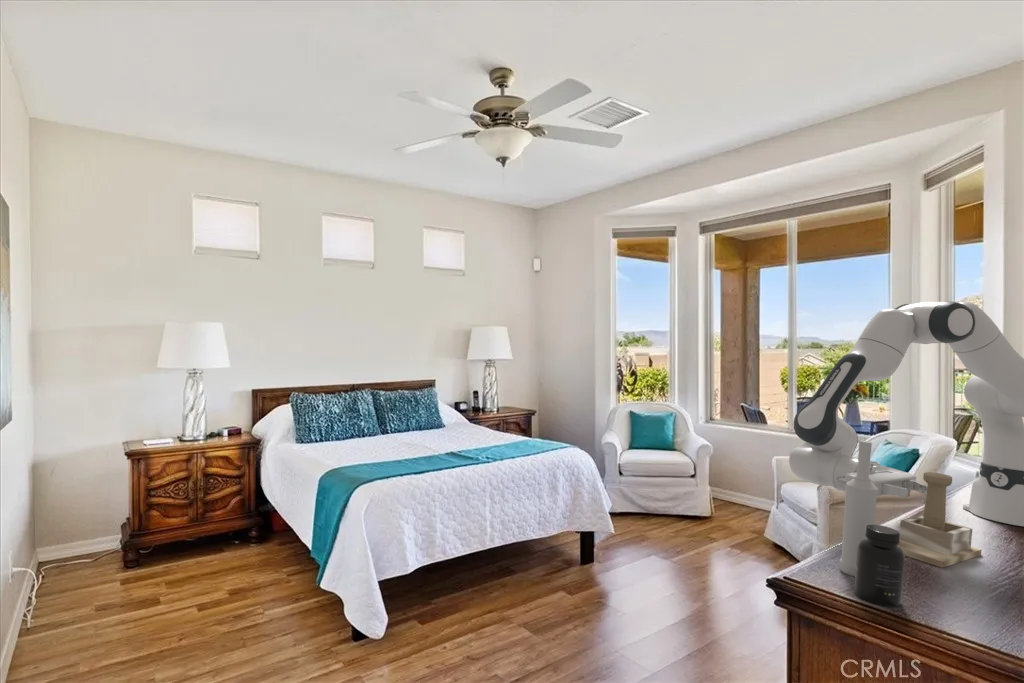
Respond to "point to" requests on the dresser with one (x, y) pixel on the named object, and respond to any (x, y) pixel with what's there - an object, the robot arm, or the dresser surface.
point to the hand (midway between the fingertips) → (919, 491)
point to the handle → (936, 500)
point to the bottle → (858, 509)
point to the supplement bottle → (880, 567)
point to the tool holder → (936, 542)
